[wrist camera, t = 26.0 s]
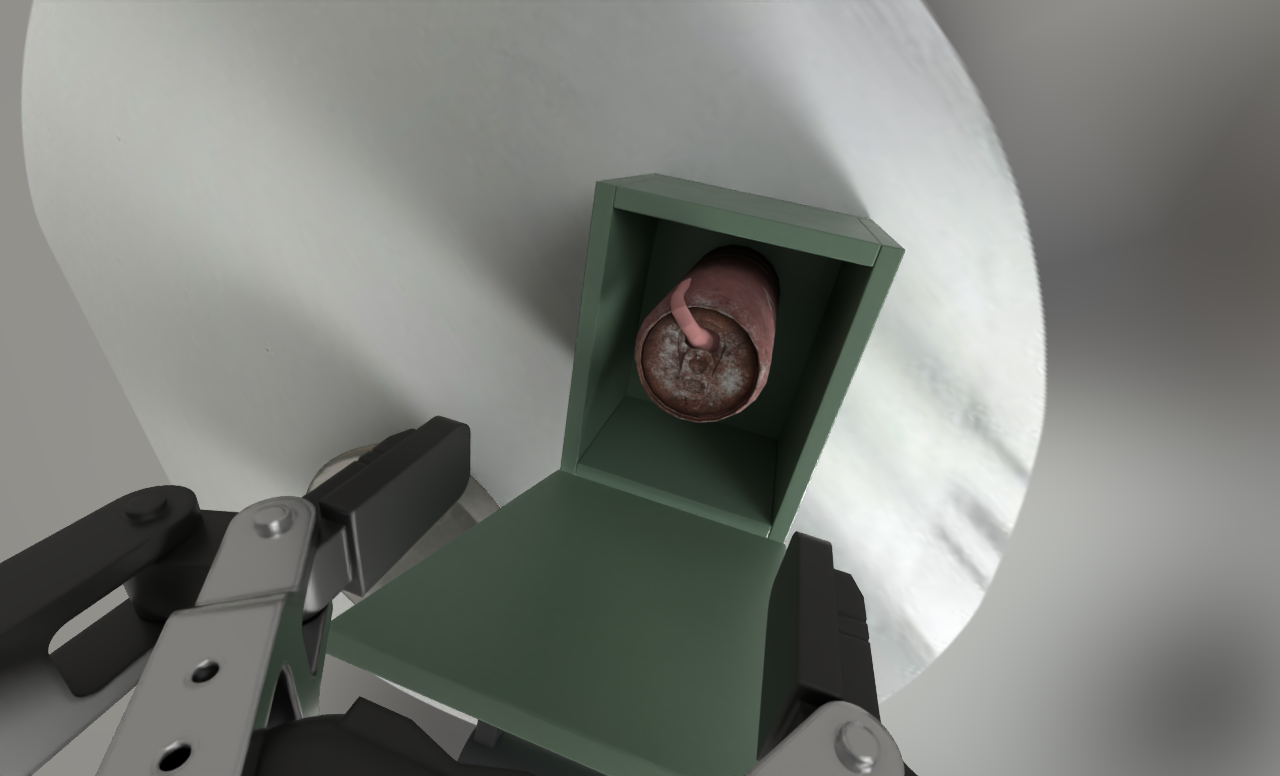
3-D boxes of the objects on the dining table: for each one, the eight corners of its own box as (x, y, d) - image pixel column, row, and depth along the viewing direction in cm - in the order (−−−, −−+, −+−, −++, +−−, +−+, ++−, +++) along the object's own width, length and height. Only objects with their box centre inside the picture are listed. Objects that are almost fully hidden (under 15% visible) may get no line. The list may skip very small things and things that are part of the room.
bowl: (329, 447, 53) (259, 491, 46) (472, 384, 45) (411, 426, 38) (439, 598, 59) (391, 658, 52) (585, 568, 50) (551, 635, 43)
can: (754, 222, 32) (726, 266, 20) (795, 311, 33) (792, 403, 21) (671, 266, 34) (600, 328, 22) (712, 346, 36) (668, 447, 24)
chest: (654, 172, 33) (595, 181, 24) (873, 219, 31) (906, 249, 21) (615, 396, 41) (559, 471, 31) (787, 447, 39) (784, 545, 29)
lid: (322, 624, 14) (289, 796, 14) (853, 849, 11) (781, 1042, 12) (558, 469, 31) (538, 549, 32) (785, 543, 29) (758, 629, 29)
